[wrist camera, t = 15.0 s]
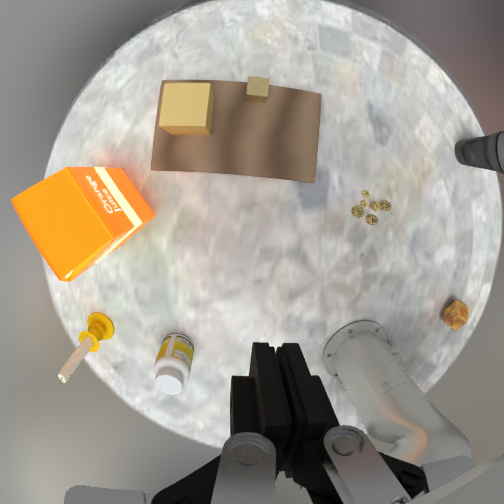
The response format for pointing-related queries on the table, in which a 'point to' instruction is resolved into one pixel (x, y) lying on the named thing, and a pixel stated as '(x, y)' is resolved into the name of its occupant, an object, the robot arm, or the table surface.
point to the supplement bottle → (173, 364)
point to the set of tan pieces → (374, 205)
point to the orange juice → (81, 216)
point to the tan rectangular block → (187, 108)
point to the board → (247, 135)
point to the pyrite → (456, 315)
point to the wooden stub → (257, 89)
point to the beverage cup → (482, 152)
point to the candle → (88, 342)
